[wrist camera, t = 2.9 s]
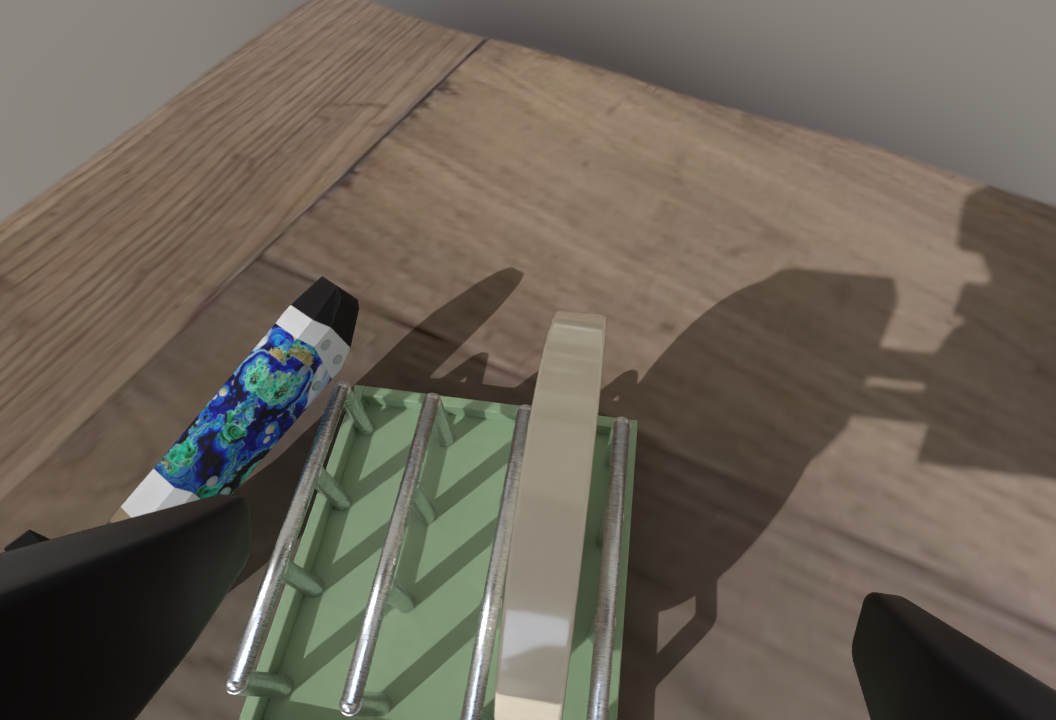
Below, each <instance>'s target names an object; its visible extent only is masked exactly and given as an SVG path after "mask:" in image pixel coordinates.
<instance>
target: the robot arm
mask: <svg viewBox="0 0 1056 720" xmlns="http://www.w3.org/2000/svg"><path fill="white" fill-rule="evenodd" d="M251 548H252V536H251V509H250V504H249V501H248V500H247V499H246V498H244V497H240V496H233V495H226V494H218V495H214V496H210V497H207V498H203V499H199V500H196V501H192V502H188V503H184V504H181V505H177V506H173V507H170V508H166V509H162V510H158V511H155V512H151V513H147V514H144V515H140V516H136V517H132V518H129V519H125V520H121V521H118V522H114V523H110V524H107V525H103V526H99V527H95V528H92V529H88V530H84V531H81V532H77V533H73V534H69V535H66V536H62V537H58V538H55V539H51V540H47V541H43V542H40V543H36V544H32V545H29V546H25V547H21V548H17V549H14V550H10V551H6V552H3V553H0V720H135V719H136V718H137V716H138V715H139V714H140V713H141V711H142V710H143V709H144V708H145V706H146V705H147V704H148V703H149V701H150V700H151V699H152V697H153V696H154V695H155V694H156V692H157V691H158V690H159V689H160V687H161V686H162V685H163V684H164V682H165V681H166V680H167V679H168V677H169V676H170V675H171V674H172V672H173V671H174V670H175V668H176V667H177V666H178V665H179V663H180V662H181V661H182V659H183V658H184V657H185V655H186V654H187V653H188V651H189V650H190V649H191V647H192V646H193V644H194V643H195V641H196V640H197V639H198V637H199V636H200V634H201V633H202V631H203V630H204V628H205V627H206V625H207V623H208V622H209V620H210V619H211V617H212V616H213V614H214V613H215V611H216V610H217V608H218V607H219V605H220V603H221V602H222V600H223V599H224V597H225V596H226V594H227V593H228V591H229V590H230V588H231V587H232V585H233V583H234V582H235V580H236V579H237V577H238V576H239V574H240V573H241V571H242V570H243V568H244V567H245V565H246V563H247V561H248V559H249V557H250V553H251ZM852 657H853V662H854V666H855V669H856V672H857V676H858V679H859V682H860V686H861V689H862V692H863V695H864V699H865V702H866V705H867V709H868V712H869V715H870V719H871V720H1056V690H1054V689H1052V688H1051V687H1049V686H1047V685H1046V684H1044V683H1043V682H1041V681H1039V680H1038V679H1036V678H1034V677H1033V676H1031V675H1030V674H1028V673H1026V672H1025V671H1023V670H1021V669H1020V668H1018V667H1016V666H1015V665H1013V664H1012V663H1010V662H1008V661H1007V660H1005V659H1003V658H1002V657H1000V656H999V655H997V654H995V653H994V652H992V651H990V650H989V649H987V648H985V647H984V646H982V645H981V644H979V643H977V642H976V641H974V640H972V639H971V638H969V637H968V636H966V635H964V634H963V633H961V632H959V631H958V630H956V629H954V628H953V627H951V626H950V625H948V624H946V623H945V622H943V621H941V620H940V619H938V618H937V617H935V616H933V615H932V614H930V613H928V612H927V611H925V610H924V609H922V608H920V607H919V606H917V605H915V604H914V603H912V602H910V601H909V600H907V599H906V598H904V597H901V596H897V595H890V594H884V593H877V592H872V593H870V594H868V595H867V596H866V597H865V599H864V601H863V605H862V608H861V612H860V616H859V620H858V623H857V627H856V631H855V635H854V639H853V643H852Z"/></svg>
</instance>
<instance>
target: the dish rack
mask: <svg viewBox="0 0 1056 720" xmlns="http://www.w3.org/2000/svg"><path fill="white" fill-rule="evenodd" d="M343 409H344V411H345V412H346V413H345V415H344V418H343V421H342V424H341V427H340V430H339V433H338V436H337V438H336V441H335V444H334V447H333V450H332V453H331V456H330V459H329V462H328V464H327V467H326V470H325V469H324V468H323V464H324V461H325V458H326V455H327V453H328V450H329V447H330V444H331V441H332V438H333V435H334V433H335V430H336V427H337V424H338V421H339V418H340V415H341V413H342V410H343ZM530 412H531V406H530V405H527V404H524V405H521V406H519V405H511V404H503V403H495V402H487V401H480V400H472V399H464V398H456V397H448V396H440V395H438V394H436V393H428V394H424V393H416V392H409V391H401V390H393V389H385V388H377V387H369V386H366V387H365V386H361V385H355V387H354V390H353V389H352V387H351V385H350V384H349V383H347V382H344V381H339V382H337V383H336V384H335V385H334V387H333V389H332V392H331V395H330V398H329V400H328V403H327V406H326V409H325V411H324V414H323V417H322V419H321V422H320V425H319V428H318V430H317V433H316V436H315V438H314V441H313V444H312V447H311V449H310V452H309V455H308V458H307V460H306V463H305V466H304V468H303V471H302V474H301V477H300V479H299V482H298V485H297V487H296V490H295V493H294V496H293V498H292V501H291V504H290V507H289V509H288V512H287V515H286V517H285V520H284V523H283V526H282V528H281V531H280V534H279V536H278V539H277V542H276V545H275V547H274V550H273V553H272V556H271V558H270V561H269V564H268V566H267V569H266V572H265V575H264V577H263V580H262V583H261V585H260V588H259V591H258V594H257V596H256V599H255V602H254V605H253V607H252V610H251V613H250V615H249V618H248V621H247V624H246V626H245V629H244V632H243V634H242V637H241V640H240V643H239V645H238V648H237V651H236V654H235V656H234V659H233V662H232V664H231V667H230V670H229V673H228V675H227V678H226V681H225V688H226V691H227V692H228V693H229V694H231V695H238V696H247V698H246V701H245V704H244V706H243V709H242V712H241V715H240V718H239V720H494V702H495V683H496V670H497V657H498V646H499V636H500V626H501V616H502V607H503V598H504V589H505V580H506V572H507V564H508V556H509V548H510V541H511V533H512V526H513V519H514V512H515V505H516V498H517V491H518V485H519V478H520V471H521V465H522V459H523V453H524V446H525V440H526V434H527V428H528V423H529V417H530ZM637 426H638V421H637V420H629V419H627V418H626V417H618V418H614V417H606V416H598V420H597V429H596V439H595V448H594V457H593V466H592V475H591V484H590V493H589V502H588V511H587V520H586V529H585V537H584V546H583V555H582V564H581V572H580V581H579V589H578V598H577V606H576V614H575V623H574V631H573V639H572V648H571V656H570V664H569V672H568V680H567V688H566V696H565V703H564V711H563V718H562V720H617V713H618V698H619V684H620V670H621V655H622V641H623V627H624V612H625V598H626V584H627V569H628V555H629V540H630V526H631V512H632V497H633V483H634V469H635V454H636V440H637ZM315 489H316V490H317V491H318V493H317V496H316V499H315V502H314V505H313V508H312V511H311V513H310V516H309V519H308V522H307V525H306V528H305V531H304V534H303V536H302V539H301V542H300V545H299V548H298V551H297V554H296V557H295V560H294V562H292V561H290V558H291V555H292V552H293V549H294V547H295V544H296V541H297V538H298V535H299V532H300V529H301V527H302V524H303V521H304V518H305V515H306V512H307V510H308V507H309V504H310V501H311V498H312V495H313V492H314V490H315ZM282 583H283V584H285V588H284V591H283V594H282V597H281V600H280V603H279V606H278V609H277V611H276V614H275V617H274V620H273V623H272V626H271V629H270V632H269V634H268V637H267V640H266V643H265V646H264V649H263V652H262V655H261V658H260V660H259V663H258V666H257V669H256V670H251V669H252V666H253V663H254V661H255V658H256V655H257V652H258V649H259V646H260V644H261V641H262V638H263V635H264V632H265V629H266V626H267V624H268V621H269V618H270V615H271V612H272V609H273V606H274V604H275V601H276V598H277V595H278V592H279V589H280V586H281V584H282Z"/></svg>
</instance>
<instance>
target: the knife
mask: <svg viewBox="0 0 1056 720" xmlns="http://www.w3.org/2000/svg"><path fill="white" fill-rule="evenodd" d="M358 311H359V305H358V300H357V299H355V298H354V297H353V296H351V295H350V294H348V293H347V292H345V291H344V290H342V289H341V288H339V287H338V286H337V285H335V284H333V283H332V282H330V281H329V280H327V279H326V278H324V277H323V276H322V277H321V278H320V279H319V280H318V281H316V282H315V283H314V284H313V285H312V286H311V287H310V288H309V289H308V290H307V291H305V292H304V293H303V294H302V295H301V296H300V297H299V298H298V299H297V300H296V301H294V302H293V303H292V304H291V305H290V306H289V307H288V309H287V310H286V311H285V312H284V313H283V314H282V316H281V317H280V318H279V319H278V321H277V322H276V323H275V325H274V326H273V327H272V328H271V329H270V330H269V332H268V333H267V334H266V335H265V336H264V338H263V339H262V340H261V341H260V342H259V344H258V345H257V346H256V347H255V348H254V350H253V351H252V352H251V353H250V354H249V356H248V357H247V358H246V359H245V360H244V361H243V363H242V364H241V365H240V366H239V367H238V369H237V370H236V371H235V372H234V373H233V375H232V376H231V377H230V378H229V379H228V381H227V382H226V383H225V384H224V385H223V386H222V388H221V389H220V390H219V391H218V392H217V394H216V395H215V396H214V397H213V398H212V400H211V401H210V402H209V403H208V404H207V406H206V407H205V408H204V409H203V410H202V411H201V413H200V414H199V415H198V416H197V417H196V419H195V420H194V421H193V422H192V423H191V425H190V426H189V427H188V428H187V429H186V431H185V432H184V433H183V434H182V435H181V436H180V438H179V439H178V440H177V441H176V442H175V444H174V445H173V446H172V447H171V448H170V450H169V451H168V452H167V453H166V454H165V456H164V457H163V458H162V459H161V460H160V462H159V463H158V464H157V465H156V466H155V467H154V469H153V470H152V471H151V472H150V473H149V474H148V476H147V477H146V478H145V479H144V480H143V481H142V483H141V484H140V485H139V486H138V487H137V488H136V490H135V491H134V492H133V493H132V494H131V495H130V497H129V498H128V499H127V500H126V501H125V502H124V503H123V505H122V506H121V507H120V508H119V509H118V511H117V512H116V513H115V514H114V516H113V517H112V518H111V519H110V521H109V522H108V523H107V524H110V523H114V522H118V521H121V520H125V519H129V518H132V517H136V516H140V515H144V514H147V513H151V512H155V511H158V510H162V509H166V508H170V507H173V506H177V505H181V504H184V503H188V502H192V501H196V500H199V499H203V498H207V497H210V496H214V495H218V494H226V495H232V494H233V493H234V491H235V490H236V489H237V488H238V487H239V486H240V484H241V483H242V482H243V481H244V480H245V479H246V478H247V476H248V475H249V474H250V473H251V472H252V471H253V469H254V468H255V467H256V466H257V465H258V464H259V463H260V461H261V460H262V459H263V458H264V457H265V456H266V454H267V453H268V452H269V451H270V450H271V449H272V448H273V446H274V445H275V444H276V443H277V442H278V441H279V439H280V438H281V437H282V436H283V435H284V434H285V433H286V431H287V430H288V429H289V428H290V427H291V426H292V425H293V423H294V422H295V421H296V420H297V419H298V418H299V416H300V415H301V414H302V413H303V412H304V411H305V410H306V408H307V407H308V406H309V405H310V404H311V403H312V401H313V400H314V399H315V398H316V397H317V396H318V395H319V393H320V392H321V391H322V390H323V389H324V388H325V386H326V385H327V384H328V383H329V382H330V381H331V380H332V378H333V377H334V376H335V375H336V374H337V373H338V371H339V370H340V369H341V368H342V366H343V364H344V362H345V359H346V357H347V355H348V352H349V350H350V347H351V343H352V338H353V334H354V329H355V324H356V320H357V315H358ZM107 524H106V525H107ZM47 540H51V539H48V538H46V537H44V536H42V535H40V534H38V533H36V532H34V531H32V530H30V529H29V530H28V531H27V532H25V533H24V534H22V535H21V536H20V537H18V538H17V539H16V540H14V541H13V542H12V543H10V544H9V545H8V546H6V547H5V548H4V550H5V551H10V550H14V549H17V548H21V547H25V546H29V545H32V544H36V543H40V542H43V541H47Z"/></svg>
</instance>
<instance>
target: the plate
mask: <svg viewBox="0 0 1056 720" xmlns="http://www.w3.org/2000/svg"><path fill="white" fill-rule="evenodd" d="M606 326H607V319H606V316H605V315H601V314H591V313H582V312H573V311H564V310H559V311H557V312H556V313H555V315H554V316H553V319H552V321H551V323H550V327H549V330H548V333H547V337H546V340H545V344H544V348H543V352H542V357H541V361H540V366H539V370H538V375H537V380H536V385H535V390H534V395H533V401H532V406H531V412H530V417H529V423H528V428H527V434H526V440H525V446H524V453H523V459H522V465H521V471H520V478H519V485H518V491H517V498H516V505H515V512H514V519H513V526H512V533H511V541H510V548H509V556H508V564H507V572H506V580H505V589H504V598H503V607H502V616H501V626H500V636H499V646H498V657H497V670H496V683H495V702H494V720H562V718H563V711H564V703H565V696H566V688H567V680H568V672H569V664H570V656H571V648H572V639H573V631H574V623H575V614H576V606H577V598H578V589H579V581H580V572H581V564H582V555H583V546H584V537H585V529H586V520H587V511H588V502H589V493H590V484H591V475H592V466H593V457H594V448H595V439H596V429H597V420H598V410H599V401H600V391H601V381H602V371H603V361H604V350H605V339H606Z"/></svg>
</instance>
